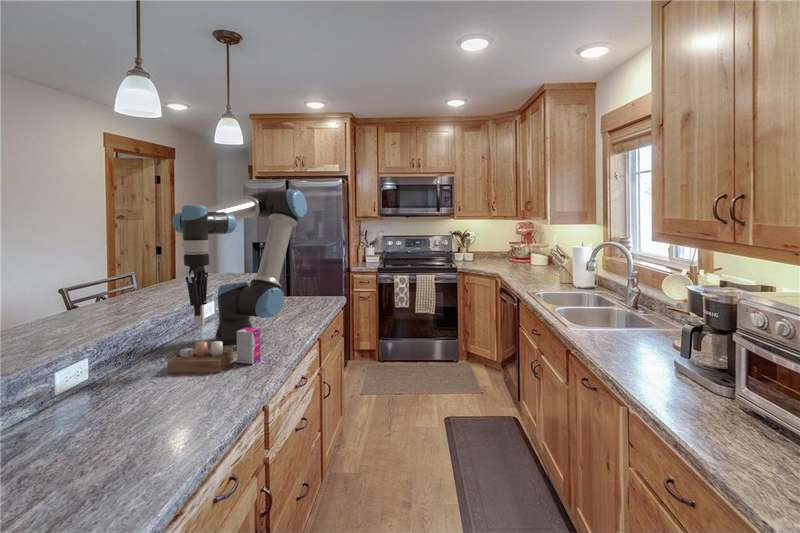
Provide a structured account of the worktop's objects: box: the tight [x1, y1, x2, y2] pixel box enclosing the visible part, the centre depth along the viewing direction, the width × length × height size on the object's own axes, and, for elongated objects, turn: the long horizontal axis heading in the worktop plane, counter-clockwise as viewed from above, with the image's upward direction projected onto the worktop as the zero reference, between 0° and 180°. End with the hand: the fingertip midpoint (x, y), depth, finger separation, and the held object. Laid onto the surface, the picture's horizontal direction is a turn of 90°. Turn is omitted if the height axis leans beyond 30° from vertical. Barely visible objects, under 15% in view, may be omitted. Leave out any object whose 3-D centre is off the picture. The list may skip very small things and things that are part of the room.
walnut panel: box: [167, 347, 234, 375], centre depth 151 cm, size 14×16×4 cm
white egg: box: [210, 340, 224, 356], centre depth 151 cm, size 4×4×5 cm
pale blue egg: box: [179, 347, 193, 357], centre depth 151 cm, size 4×4×5 cm
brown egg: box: [195, 340, 209, 357], centre depth 151 cm, size 4×4×5 cm
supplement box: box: [236, 327, 261, 366], centre depth 155 cm, size 6×6×12 cm
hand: (199, 324), depth 150 cm, fingers closed
